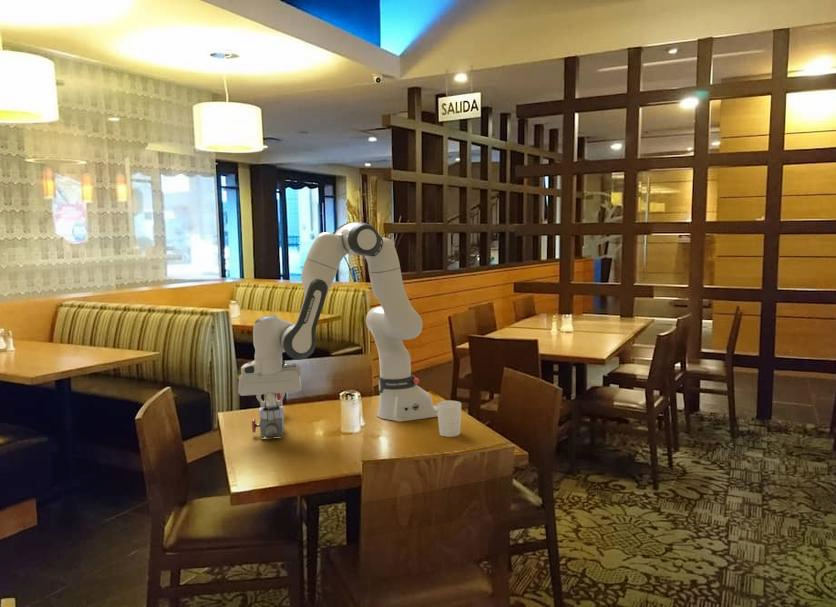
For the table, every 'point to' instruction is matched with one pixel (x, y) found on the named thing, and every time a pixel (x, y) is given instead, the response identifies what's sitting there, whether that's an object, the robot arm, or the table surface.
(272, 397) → the pipe nipple
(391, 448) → the table surface
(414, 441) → the table surface
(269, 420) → the valve body
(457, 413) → the white cup
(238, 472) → the table surface
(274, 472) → the table surface
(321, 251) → the robot arm
